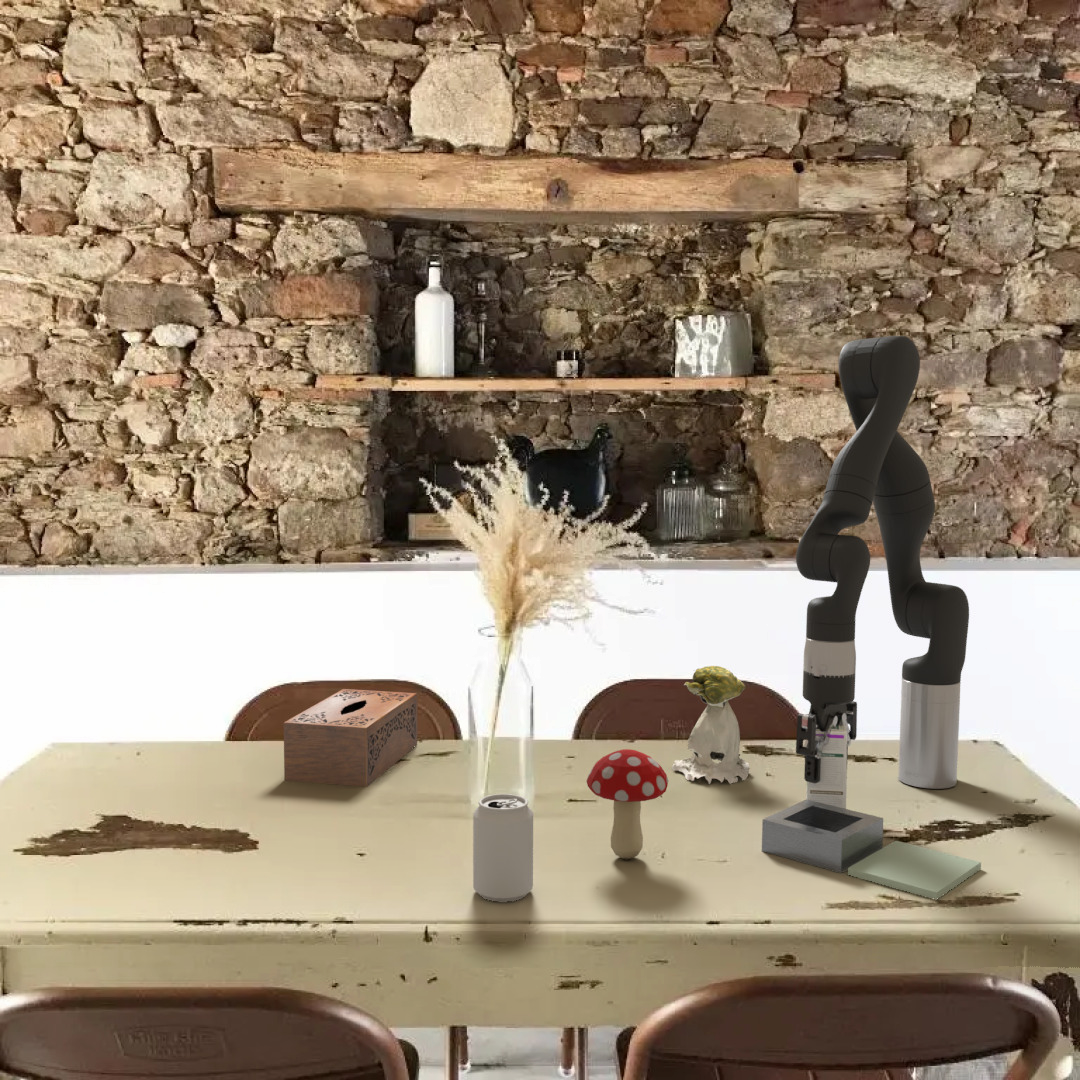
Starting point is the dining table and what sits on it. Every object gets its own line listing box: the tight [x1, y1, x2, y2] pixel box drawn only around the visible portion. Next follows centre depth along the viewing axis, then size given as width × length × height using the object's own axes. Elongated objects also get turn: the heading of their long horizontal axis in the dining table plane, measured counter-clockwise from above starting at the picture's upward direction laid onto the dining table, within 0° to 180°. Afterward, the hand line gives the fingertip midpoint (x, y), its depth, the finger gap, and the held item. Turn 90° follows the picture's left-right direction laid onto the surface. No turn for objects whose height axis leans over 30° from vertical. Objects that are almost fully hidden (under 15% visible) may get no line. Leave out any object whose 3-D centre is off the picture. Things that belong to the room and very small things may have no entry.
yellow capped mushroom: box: [671, 665, 750, 785], centre depth 197 cm, size 12×13×18 cm
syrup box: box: [806, 725, 848, 809], centre depth 174 cm, size 6×6×14 cm
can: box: [472, 793, 534, 903], centre depth 146 cm, size 8×8×12 cm
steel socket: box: [761, 799, 884, 874], centre depth 162 cm, size 12×12×4 cm
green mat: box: [847, 840, 982, 900], centre depth 154 cm, size 14×12×1 cm
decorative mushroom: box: [586, 748, 669, 860], centre depth 158 cm, size 11×11×15 cm
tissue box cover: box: [283, 688, 418, 787], centre depth 203 cm, size 26×14×10 cm, turn 168°
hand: (825, 775), depth 174 cm, fingers closed on syrup box, 8 cm apart
